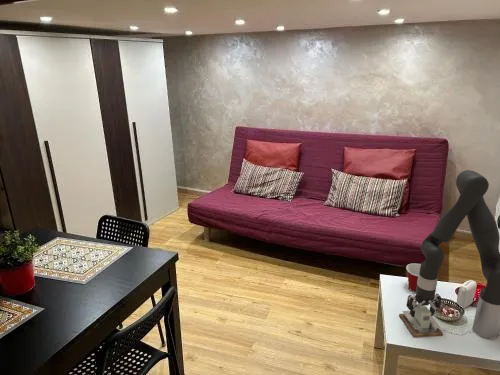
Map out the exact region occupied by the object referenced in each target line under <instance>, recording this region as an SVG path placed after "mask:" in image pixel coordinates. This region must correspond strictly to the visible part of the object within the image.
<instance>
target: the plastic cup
mask: <svg viewBox="0 0 500 375" xmlns="http://www.w3.org/2000/svg"><path fill="white" fill-rule="evenodd" d="M420 266H421V263H413V262H412V263H409V264H407V265H406V266H405V267H406V271H407V279H408V280H407V282H408V289H409V290H410V291H412V292H415V293H416V288H417V281H418V276H419V272H420Z"/></svg>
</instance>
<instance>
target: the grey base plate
mask: <svg viewBox="0 0 500 375" xmlns="http://www.w3.org/2000/svg"><path fill="white" fill-rule="evenodd" d="M402 314H404V315H405V316H406V317H407V319H408V320H409V322H410V323H411V325H412V326H413V328H414V329H415V330H416V331H417V332H418V333H433V332H436V330H437V328H439V329H441V328H442V327H441V326H440V325H439V323H438V322H437V320H436V319H435V317H434V316H431V318H430V324H429V328H421V327H420V326H419V324H418V323H417V321H416V320H415V319H414V317H412V316H411V315H410V310H402Z"/></svg>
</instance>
